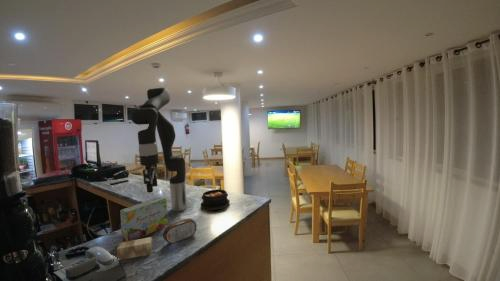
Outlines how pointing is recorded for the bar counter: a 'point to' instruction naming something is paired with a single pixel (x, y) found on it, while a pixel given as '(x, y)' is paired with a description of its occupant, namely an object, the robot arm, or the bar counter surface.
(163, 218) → the snack box
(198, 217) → the bar counter surface
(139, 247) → the beech block
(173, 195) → the robot arm
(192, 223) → the tin
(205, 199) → the casserole
